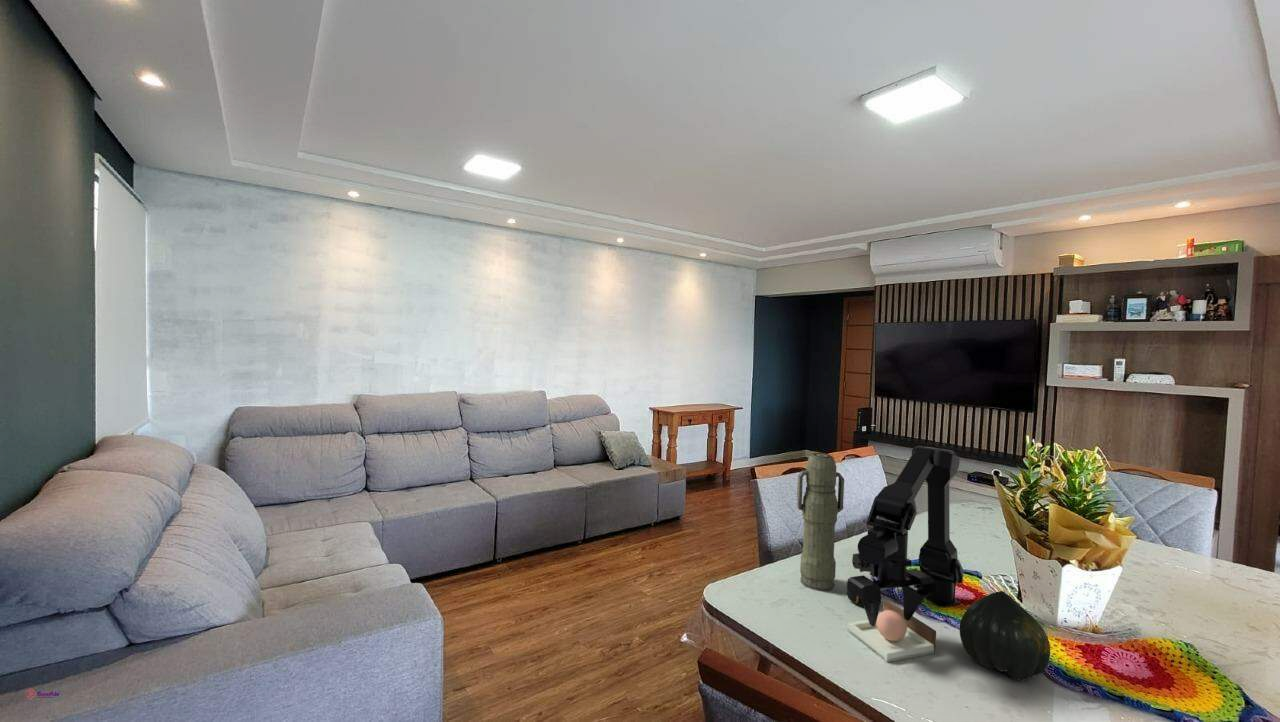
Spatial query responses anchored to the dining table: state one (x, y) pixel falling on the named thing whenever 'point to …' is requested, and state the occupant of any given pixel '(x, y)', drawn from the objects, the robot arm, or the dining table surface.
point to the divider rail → (913, 623)
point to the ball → (891, 625)
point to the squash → (1004, 636)
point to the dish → (890, 642)
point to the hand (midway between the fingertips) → (889, 622)
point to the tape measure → (855, 598)
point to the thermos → (819, 520)
